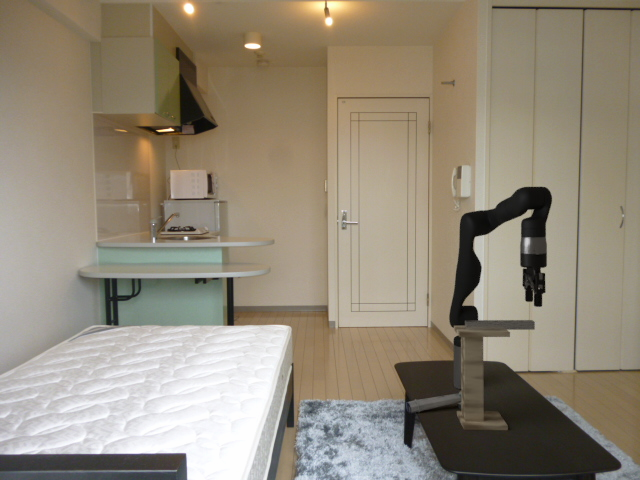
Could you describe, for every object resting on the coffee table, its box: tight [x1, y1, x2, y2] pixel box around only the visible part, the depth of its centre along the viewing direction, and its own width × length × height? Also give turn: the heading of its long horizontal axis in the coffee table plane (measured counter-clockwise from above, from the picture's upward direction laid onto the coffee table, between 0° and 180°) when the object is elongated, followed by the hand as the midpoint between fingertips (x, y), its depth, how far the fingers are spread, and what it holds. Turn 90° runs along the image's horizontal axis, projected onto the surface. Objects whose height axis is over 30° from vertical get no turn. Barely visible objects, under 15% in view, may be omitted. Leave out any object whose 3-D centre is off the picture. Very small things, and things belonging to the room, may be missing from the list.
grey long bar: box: [465, 319, 536, 331], centre depth 166 cm, size 3×22×3 cm, turn 85°
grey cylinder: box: [405, 390, 461, 414], centre depth 180 cm, size 5×7×25 cm
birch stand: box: [453, 326, 511, 431], centre depth 167 cm, size 12×16×32 cm
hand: (533, 304), depth 153 cm, fingers open, 8 cm apart
